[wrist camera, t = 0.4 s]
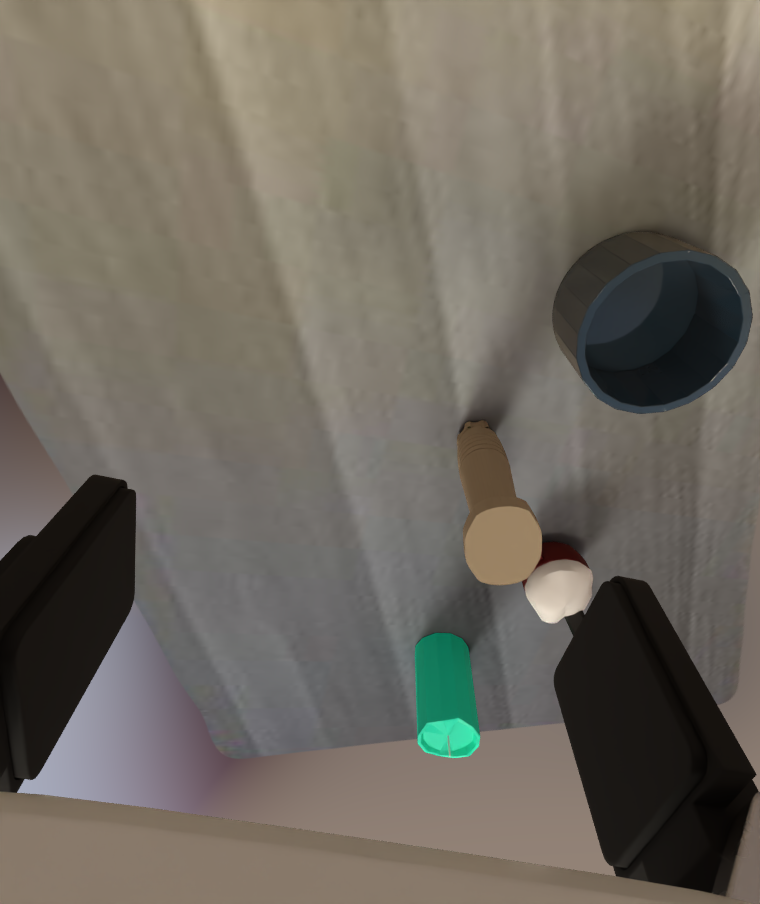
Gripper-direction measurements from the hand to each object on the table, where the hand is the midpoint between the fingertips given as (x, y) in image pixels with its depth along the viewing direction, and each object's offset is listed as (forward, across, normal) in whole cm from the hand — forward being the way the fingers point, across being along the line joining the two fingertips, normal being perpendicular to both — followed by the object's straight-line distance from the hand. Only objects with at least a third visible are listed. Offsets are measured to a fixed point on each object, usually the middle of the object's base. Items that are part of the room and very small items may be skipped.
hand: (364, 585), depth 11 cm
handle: (+36, -11, +13) cm, 39 cm away
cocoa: (+36, -22, +24) cm, 49 cm away
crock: (+35, -18, 0) cm, 40 cm away
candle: (+36, -15, +40) cm, 56 cm away
